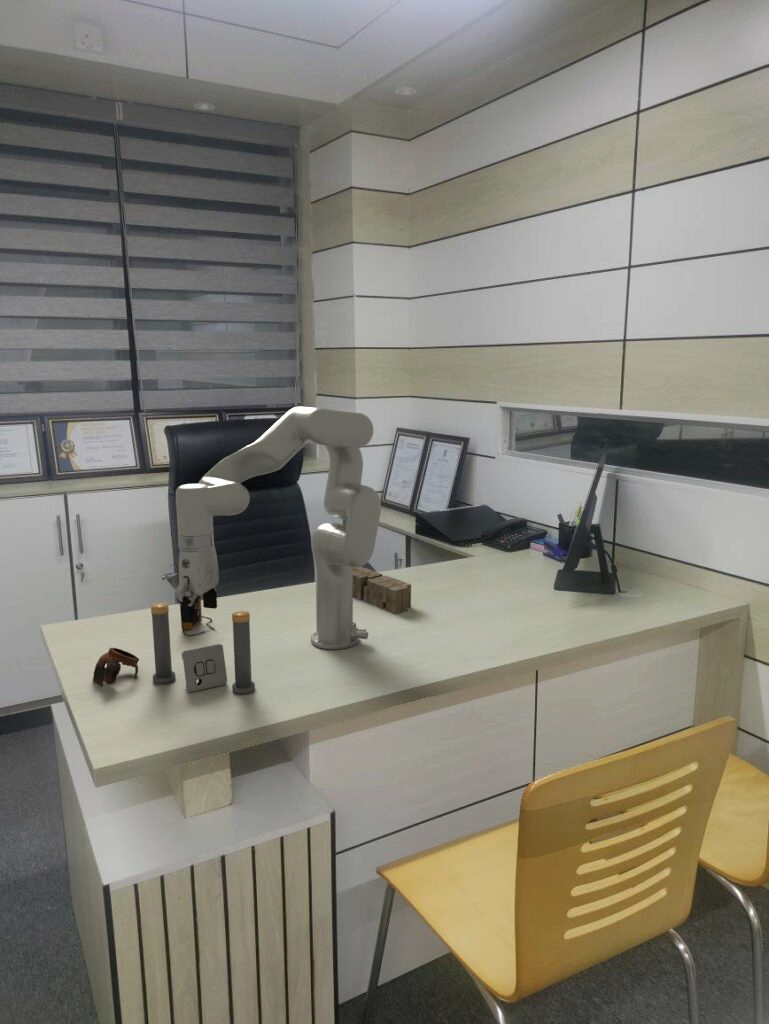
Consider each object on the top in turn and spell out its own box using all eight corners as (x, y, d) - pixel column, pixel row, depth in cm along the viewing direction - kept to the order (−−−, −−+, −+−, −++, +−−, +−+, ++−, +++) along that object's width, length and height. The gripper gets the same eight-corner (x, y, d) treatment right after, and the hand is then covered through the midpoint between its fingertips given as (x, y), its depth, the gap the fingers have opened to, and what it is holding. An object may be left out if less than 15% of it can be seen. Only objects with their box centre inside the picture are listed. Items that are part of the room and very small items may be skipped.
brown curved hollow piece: (92, 675, 175) (107, 643, 176) (130, 690, 176) (145, 658, 178) (84, 684, 163) (100, 649, 164) (125, 700, 165) (141, 665, 166)
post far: (179, 676, 173) (175, 603, 169) (168, 685, 168) (163, 610, 165) (160, 674, 174) (155, 601, 171) (148, 683, 170) (143, 608, 166)
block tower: (414, 612, 220) (354, 586, 242) (415, 585, 218) (354, 561, 240) (394, 618, 215) (334, 590, 237) (395, 590, 213) (334, 565, 235)
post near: (258, 686, 168) (256, 611, 164) (249, 696, 163) (246, 618, 160) (238, 683, 169) (235, 609, 166) (228, 693, 165) (225, 616, 161)
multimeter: (209, 638, 196) (206, 565, 192) (174, 635, 198) (170, 563, 194) (231, 619, 210) (228, 551, 206) (198, 616, 212) (195, 549, 208)
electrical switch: (187, 694, 164) (184, 653, 163) (181, 687, 169) (177, 648, 168) (228, 685, 169) (225, 645, 168) (220, 678, 173) (218, 640, 172)
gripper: (191, 551, 153) (195, 630, 156) (229, 532, 169) (232, 604, 173) (159, 549, 154) (164, 626, 158) (199, 530, 171) (203, 601, 174)
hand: (199, 614), depth 165 cm, fingers open, 9 cm apart
